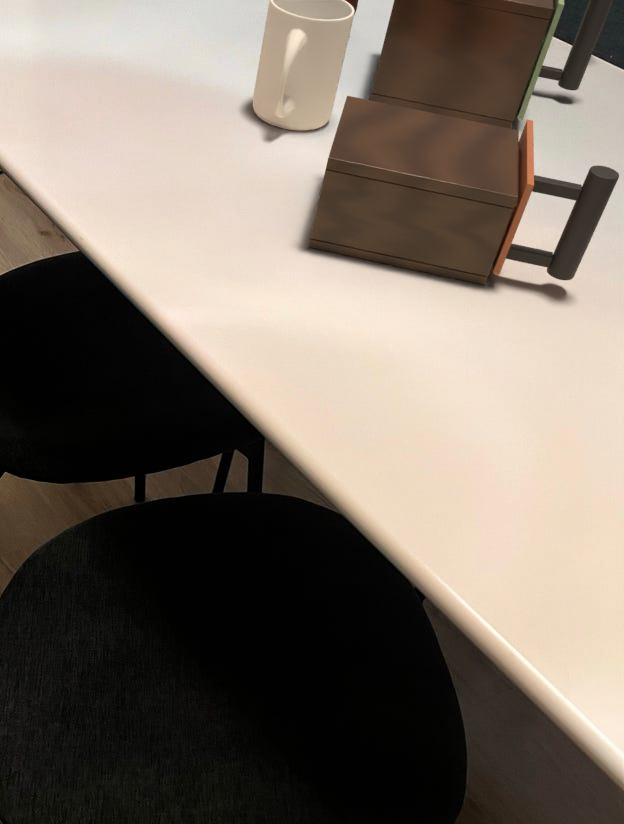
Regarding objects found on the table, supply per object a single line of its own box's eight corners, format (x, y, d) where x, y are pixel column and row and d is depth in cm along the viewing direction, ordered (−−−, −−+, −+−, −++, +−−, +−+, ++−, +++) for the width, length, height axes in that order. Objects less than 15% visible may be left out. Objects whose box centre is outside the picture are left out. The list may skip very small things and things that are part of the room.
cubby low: (488, 214, 99) (519, 130, 93) (484, 285, 90) (518, 197, 84) (327, 180, 101) (347, 95, 95) (307, 247, 92) (328, 157, 86)
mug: (231, 131, 106) (249, 17, 98) (264, 91, 113) (283, -18, 105) (310, 152, 104) (335, 38, 96) (338, 110, 112) (363, 1, 104)
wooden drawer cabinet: (511, 83, 122) (551, -31, 113) (510, 129, 113) (553, 8, 104) (380, 57, 124) (409, -58, 115) (369, 100, 115) (399, -21, 106)
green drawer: (576, 86, 121) (619, -24, 112) (580, 131, 112) (627, 16, 103) (394, 50, 123) (422, -61, 114) (384, 92, 114) (414, -25, 105)
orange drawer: (568, 220, 98) (611, 118, 91) (572, 290, 89) (620, 184, 82) (343, 173, 100) (368, 70, 92) (326, 237, 91) (352, 129, 84)
